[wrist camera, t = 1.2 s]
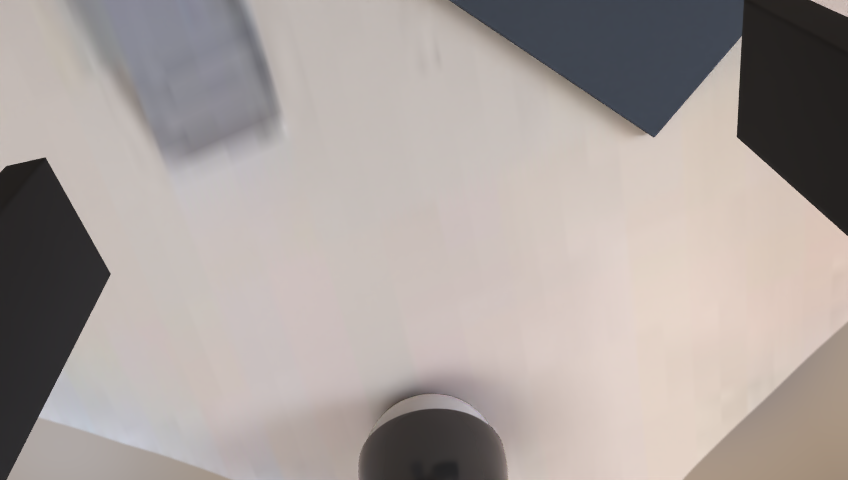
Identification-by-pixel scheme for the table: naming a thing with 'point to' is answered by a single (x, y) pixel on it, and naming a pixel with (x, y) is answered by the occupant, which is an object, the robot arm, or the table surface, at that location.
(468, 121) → the table surface
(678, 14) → the slate mat
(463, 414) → the pump dispenser
